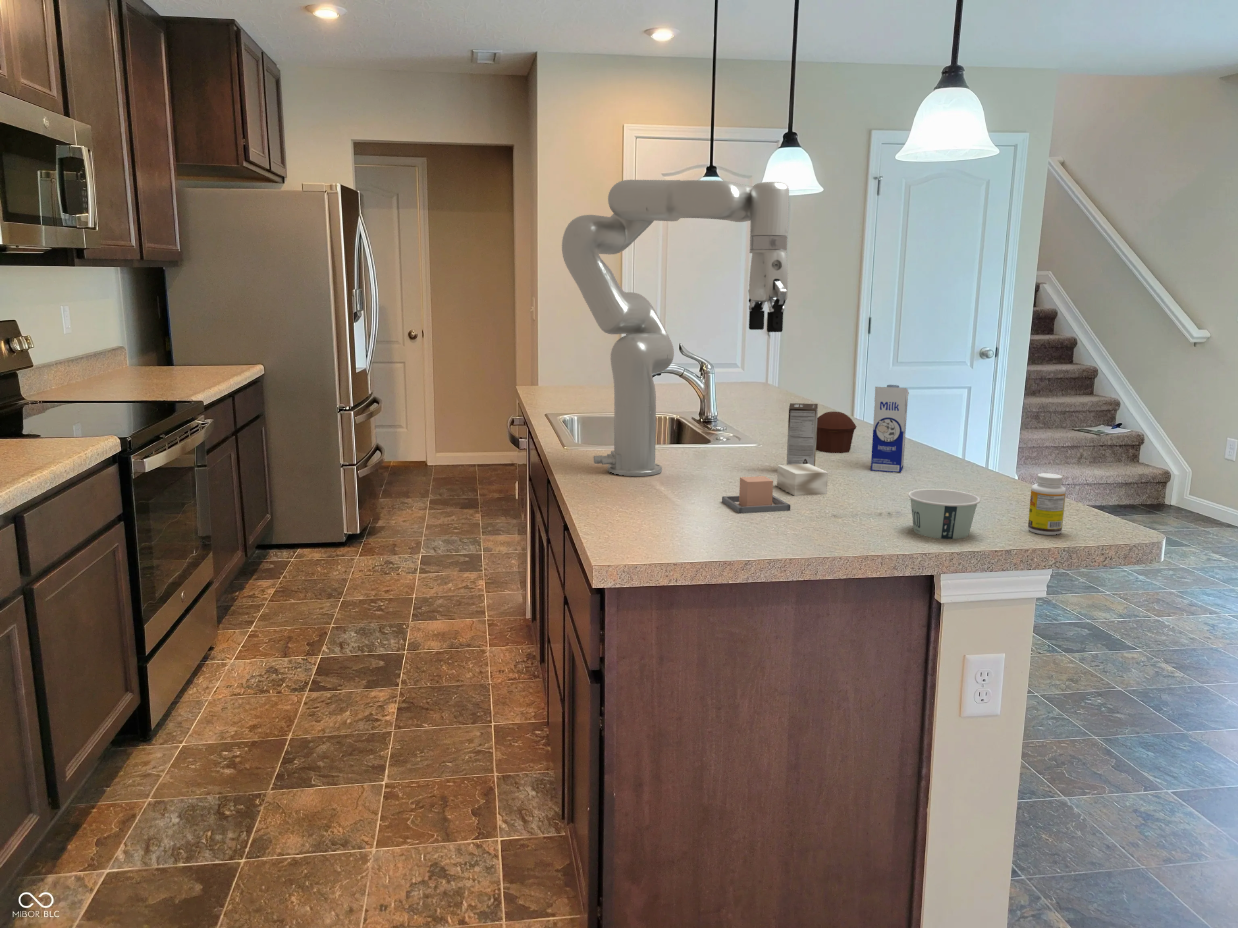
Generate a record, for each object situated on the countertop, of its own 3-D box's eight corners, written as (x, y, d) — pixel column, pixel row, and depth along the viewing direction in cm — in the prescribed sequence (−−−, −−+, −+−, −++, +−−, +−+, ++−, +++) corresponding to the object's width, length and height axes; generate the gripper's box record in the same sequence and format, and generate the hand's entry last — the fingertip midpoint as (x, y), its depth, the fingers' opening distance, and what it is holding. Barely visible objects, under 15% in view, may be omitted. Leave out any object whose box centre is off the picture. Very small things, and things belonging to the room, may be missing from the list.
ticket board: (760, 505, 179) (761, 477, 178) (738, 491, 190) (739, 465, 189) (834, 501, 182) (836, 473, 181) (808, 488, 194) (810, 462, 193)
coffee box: (786, 470, 212) (789, 402, 209) (814, 472, 211) (817, 403, 208) (785, 478, 203) (788, 407, 200) (814, 480, 202) (818, 408, 199)
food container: (989, 540, 155) (993, 503, 154) (921, 542, 154) (924, 504, 153) (958, 522, 167) (961, 488, 166) (895, 523, 166) (897, 488, 165)
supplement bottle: (1032, 525, 165) (1038, 470, 163) (1065, 531, 161) (1071, 475, 159) (1023, 532, 160) (1028, 475, 158) (1056, 537, 157) (1062, 480, 155)
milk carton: (869, 470, 213) (874, 385, 209) (873, 465, 219) (878, 382, 215) (901, 473, 210) (907, 387, 206) (904, 467, 216) (909, 384, 212)
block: (746, 513, 171) (748, 482, 169) (738, 507, 175) (739, 477, 174) (771, 511, 172) (773, 480, 171) (763, 506, 176) (764, 476, 175)
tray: (738, 519, 168) (739, 507, 167) (721, 508, 177) (722, 496, 176) (789, 516, 170) (790, 504, 170) (770, 505, 179) (771, 493, 178)
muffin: (859, 454, 233) (861, 416, 231) (816, 454, 233) (818, 415, 231) (848, 446, 245) (850, 409, 243) (807, 446, 245) (809, 409, 243)
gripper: (803, 244, 177) (799, 332, 181) (768, 247, 194) (766, 328, 197) (767, 243, 176) (764, 333, 179) (735, 247, 192) (733, 328, 195)
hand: (765, 330), depth 188 cm, fingers open, 9 cm apart
